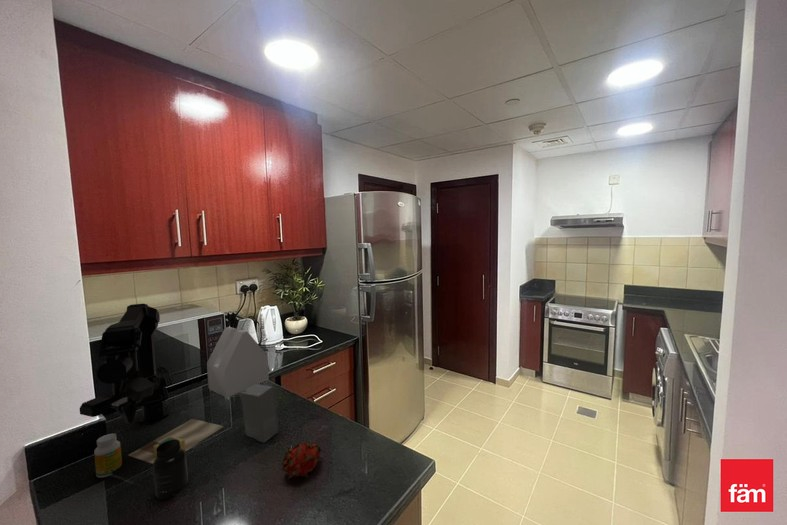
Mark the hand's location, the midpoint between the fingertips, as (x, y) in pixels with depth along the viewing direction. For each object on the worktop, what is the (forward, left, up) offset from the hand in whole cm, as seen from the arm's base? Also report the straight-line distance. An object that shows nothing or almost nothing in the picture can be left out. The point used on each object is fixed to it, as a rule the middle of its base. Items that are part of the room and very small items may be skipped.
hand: (129, 423), depth 89 cm
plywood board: (+3, +11, -12) cm, 17 cm away
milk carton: (-12, +49, -12) cm, 52 cm away
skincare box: (+26, +22, -12) cm, 36 cm away
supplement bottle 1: (-3, -4, -12) cm, 13 cm away
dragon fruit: (+49, +13, -12) cm, 52 cm away
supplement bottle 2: (+21, -3, -12) cm, 25 cm away
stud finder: (+7, +6, -11) cm, 14 cm away
